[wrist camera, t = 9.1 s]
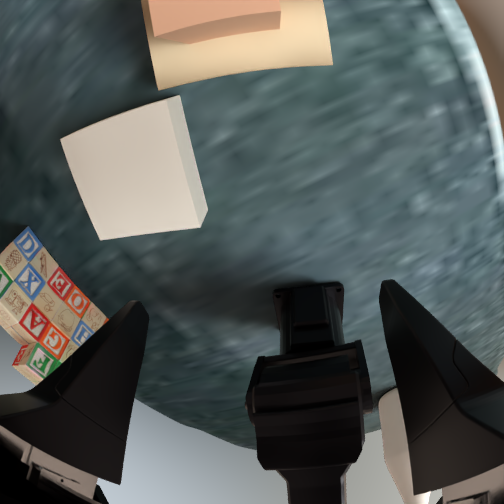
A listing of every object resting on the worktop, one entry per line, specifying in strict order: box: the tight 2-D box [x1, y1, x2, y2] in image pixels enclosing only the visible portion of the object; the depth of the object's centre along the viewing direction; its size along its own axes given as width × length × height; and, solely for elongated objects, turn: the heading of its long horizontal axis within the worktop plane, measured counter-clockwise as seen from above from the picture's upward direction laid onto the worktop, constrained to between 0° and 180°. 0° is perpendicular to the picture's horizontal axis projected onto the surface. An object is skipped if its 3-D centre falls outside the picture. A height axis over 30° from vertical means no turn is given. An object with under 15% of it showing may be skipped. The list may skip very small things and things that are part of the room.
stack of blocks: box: [0, 226, 109, 385], centre depth 25 cm, size 21×6×12 cm, turn 26°
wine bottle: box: [378, 388, 431, 504], centre depth 27 cm, size 10×10×30 cm
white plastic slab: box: [60, 95, 208, 240], centre depth 19 cm, size 9×9×3 cm
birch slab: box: [141, 0, 333, 91], centre depth 11 cm, size 10×10×3 cm
